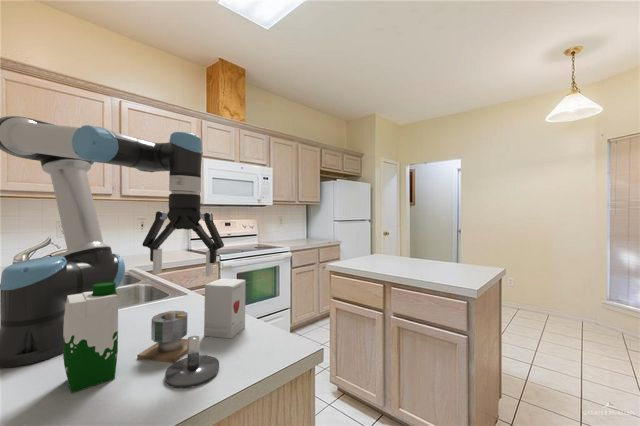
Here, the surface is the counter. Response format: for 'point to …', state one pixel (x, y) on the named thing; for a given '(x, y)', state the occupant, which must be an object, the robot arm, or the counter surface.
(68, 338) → the milk carton
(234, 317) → the supplement box
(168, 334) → the clutch ring
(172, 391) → the counter surface
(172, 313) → the stand
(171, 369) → the disc
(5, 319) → the robot arm
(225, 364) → the counter surface
